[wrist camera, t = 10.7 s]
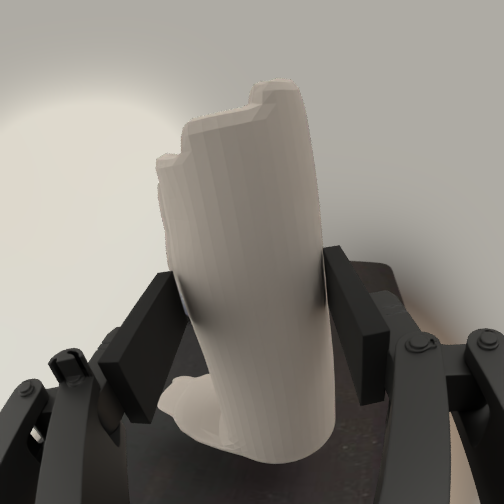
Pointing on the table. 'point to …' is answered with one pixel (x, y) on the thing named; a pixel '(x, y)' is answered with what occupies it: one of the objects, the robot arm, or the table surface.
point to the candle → (251, 278)
